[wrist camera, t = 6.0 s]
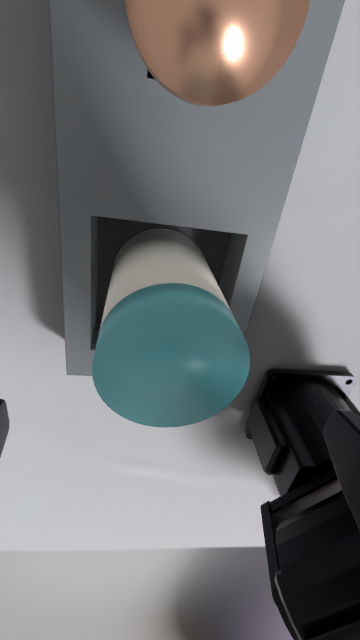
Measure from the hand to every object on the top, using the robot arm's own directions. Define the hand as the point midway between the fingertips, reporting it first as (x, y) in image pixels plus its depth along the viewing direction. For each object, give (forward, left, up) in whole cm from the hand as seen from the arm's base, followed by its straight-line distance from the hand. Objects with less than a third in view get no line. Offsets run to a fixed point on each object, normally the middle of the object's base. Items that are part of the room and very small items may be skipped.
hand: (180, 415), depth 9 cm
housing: (0, -4, -10) cm, 10 cm away
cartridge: (0, 0, -10) cm, 10 cm away
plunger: (0, -10, -10) cm, 14 cm away
